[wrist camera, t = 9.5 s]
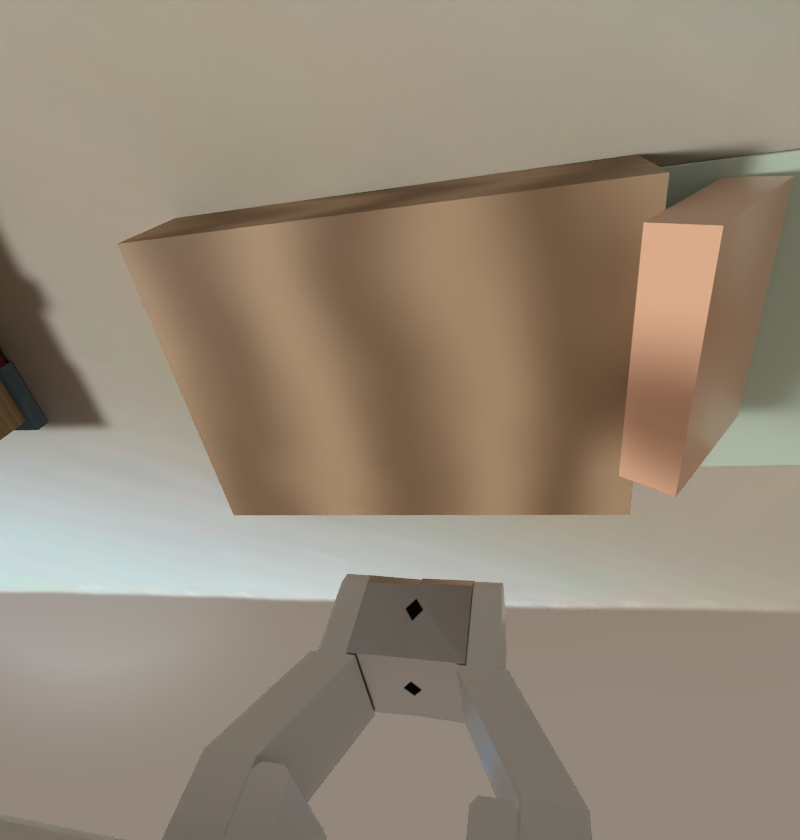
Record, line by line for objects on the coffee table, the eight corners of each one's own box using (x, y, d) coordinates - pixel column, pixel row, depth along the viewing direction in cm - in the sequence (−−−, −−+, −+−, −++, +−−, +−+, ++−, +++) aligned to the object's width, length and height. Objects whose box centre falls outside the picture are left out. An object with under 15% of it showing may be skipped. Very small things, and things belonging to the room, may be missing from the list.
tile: (723, 176, 18) (794, 175, 16) (685, 403, 22) (737, 416, 21) (643, 222, 14) (723, 225, 13) (618, 475, 19) (675, 497, 18)
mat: (906, 134, 16) (913, 135, 16) (800, 460, 23) (803, 464, 23) (636, 170, 18) (638, 171, 18) (611, 464, 25) (612, 468, 25)
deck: (637, 154, 18) (669, 172, 15) (611, 456, 25) (629, 514, 21) (175, 218, 22) (117, 244, 18) (264, 464, 28) (234, 515, 25)
